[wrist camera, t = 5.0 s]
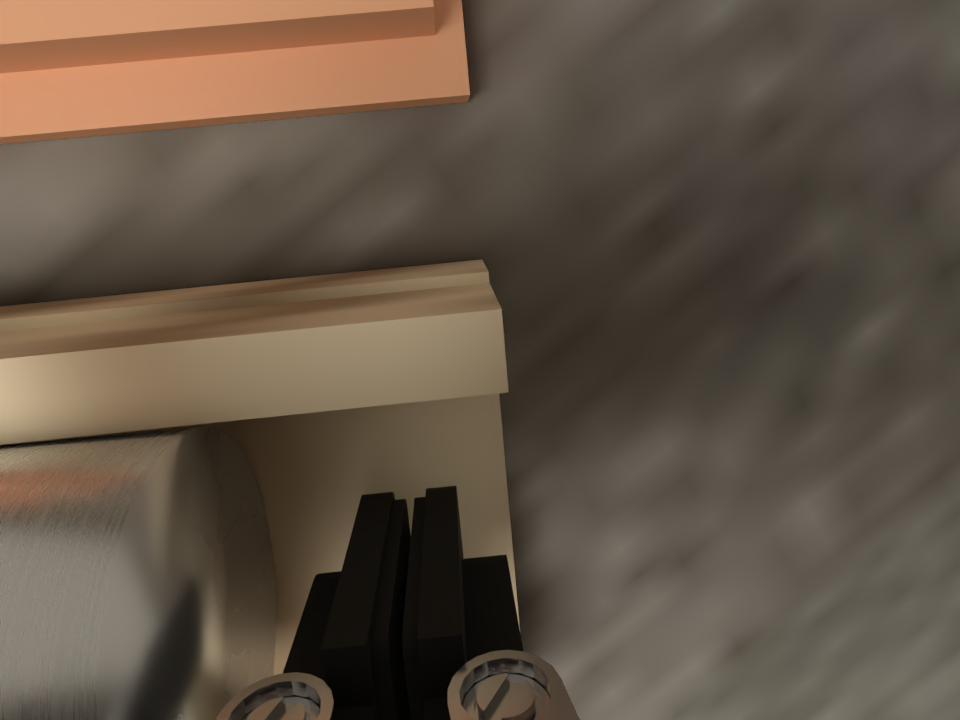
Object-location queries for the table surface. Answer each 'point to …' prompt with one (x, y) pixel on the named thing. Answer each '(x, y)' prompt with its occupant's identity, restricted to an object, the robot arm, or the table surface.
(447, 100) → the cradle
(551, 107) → the table surface
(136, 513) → the grey metal cylinder
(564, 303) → the table surface
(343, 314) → the beige elongated piece
